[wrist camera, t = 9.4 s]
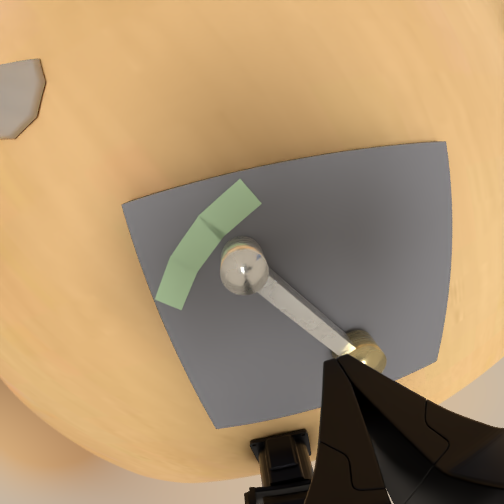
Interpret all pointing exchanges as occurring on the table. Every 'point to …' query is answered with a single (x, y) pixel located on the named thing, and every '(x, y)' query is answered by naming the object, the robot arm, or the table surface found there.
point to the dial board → (300, 270)
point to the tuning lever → (291, 302)
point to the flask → (19, 95)
